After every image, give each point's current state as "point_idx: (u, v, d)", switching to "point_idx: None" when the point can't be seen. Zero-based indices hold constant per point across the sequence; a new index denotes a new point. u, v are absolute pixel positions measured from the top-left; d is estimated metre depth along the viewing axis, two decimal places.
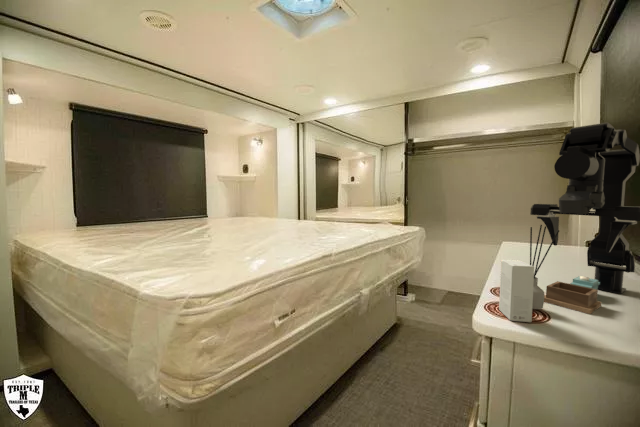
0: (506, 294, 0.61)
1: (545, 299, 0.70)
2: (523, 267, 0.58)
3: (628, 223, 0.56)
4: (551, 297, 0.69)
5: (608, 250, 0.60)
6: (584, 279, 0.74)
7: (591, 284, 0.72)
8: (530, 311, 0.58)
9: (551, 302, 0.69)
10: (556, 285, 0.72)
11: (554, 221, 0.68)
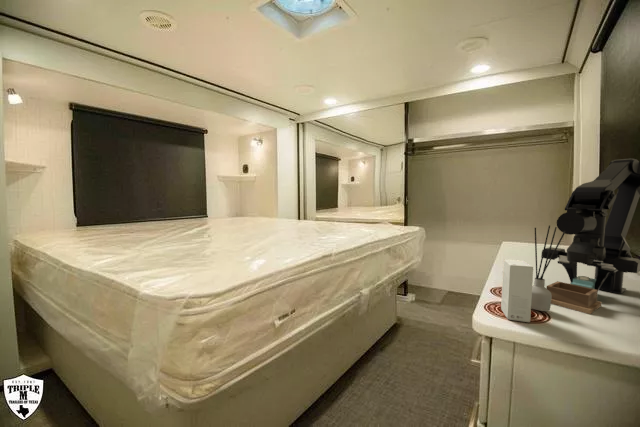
0: (505, 293, 0.61)
1: None
2: (521, 267, 0.58)
3: (611, 271, 0.69)
4: None
5: None
6: (584, 279, 0.74)
7: (591, 284, 0.72)
8: (528, 311, 0.58)
9: (551, 302, 0.69)
10: (556, 285, 0.72)
11: (573, 266, 0.77)
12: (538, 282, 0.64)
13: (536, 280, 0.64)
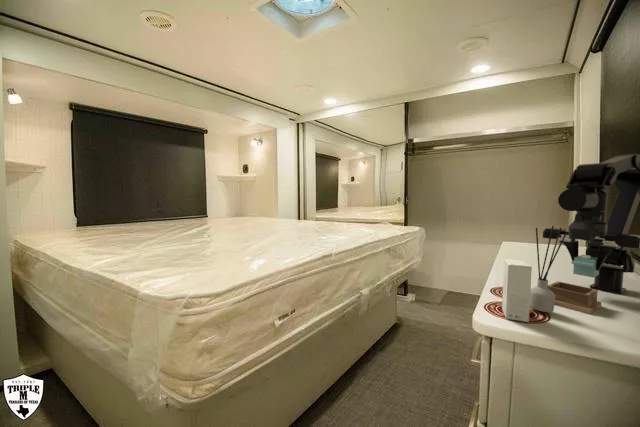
0: (505, 293, 0.61)
1: None
2: (519, 266, 0.58)
3: (613, 248, 0.68)
4: None
5: (597, 269, 0.72)
6: (586, 257, 0.73)
7: (593, 262, 0.72)
8: (527, 311, 0.58)
9: None
10: (556, 285, 0.72)
11: (575, 245, 0.76)
12: (541, 283, 0.63)
13: (539, 281, 0.64)
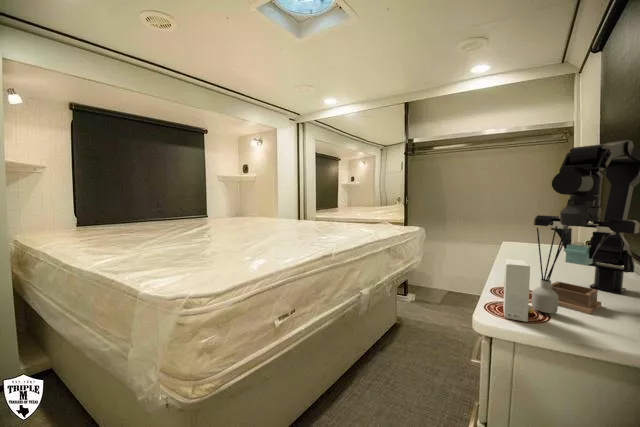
0: (504, 292, 0.62)
1: None
2: (518, 266, 0.59)
3: (607, 234, 0.65)
4: None
5: (590, 257, 0.69)
6: (579, 244, 0.69)
7: (586, 249, 0.68)
8: (526, 310, 0.58)
9: None
10: (556, 285, 0.72)
11: None
12: (543, 283, 0.63)
13: (542, 281, 0.63)
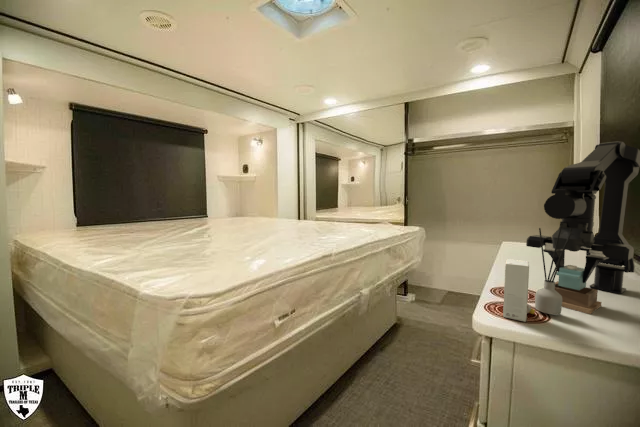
0: None
1: None
2: (517, 266, 0.59)
3: (600, 259, 0.63)
4: None
5: (584, 281, 0.67)
6: (571, 268, 0.67)
7: (579, 273, 0.66)
8: (524, 310, 0.58)
9: None
10: (556, 285, 0.72)
11: None
12: (547, 284, 0.62)
13: (545, 282, 0.63)
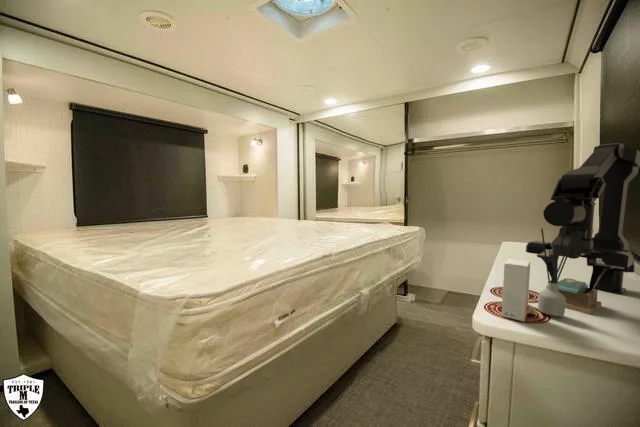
0: None
1: None
2: (515, 266, 0.59)
3: (607, 267, 0.62)
4: None
5: (590, 289, 0.66)
6: (570, 281, 0.68)
7: (578, 287, 0.66)
8: (522, 310, 0.58)
9: None
10: None
11: (553, 260, 0.72)
12: (550, 285, 0.61)
13: (548, 283, 0.62)
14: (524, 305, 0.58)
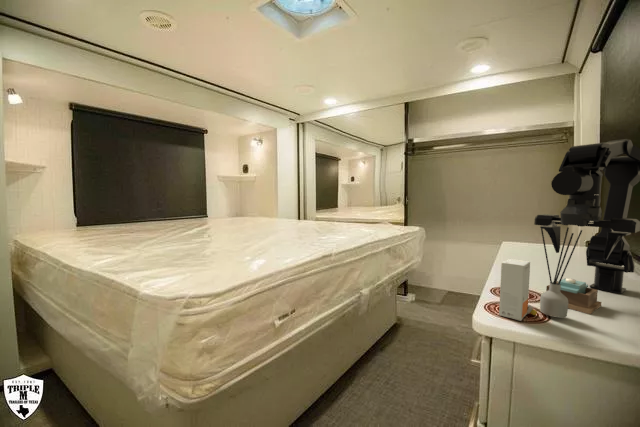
0: None
1: None
2: (512, 265, 0.59)
3: (623, 234, 0.63)
4: None
5: (605, 258, 0.67)
6: (570, 281, 0.68)
7: (578, 287, 0.66)
8: (519, 309, 0.59)
9: None
10: None
11: (556, 230, 0.74)
12: (551, 286, 0.61)
13: (550, 284, 0.61)
14: (521, 304, 0.59)
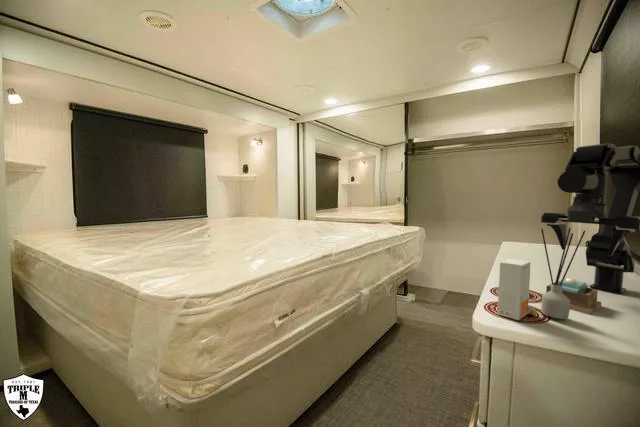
0: None
1: None
2: (510, 264, 0.60)
3: (627, 231, 0.65)
4: None
5: (610, 254, 0.69)
6: (570, 281, 0.68)
7: (578, 287, 0.66)
8: (517, 309, 0.59)
9: None
10: None
11: (562, 228, 0.77)
12: (552, 287, 0.60)
13: (551, 285, 0.61)
14: (519, 304, 0.59)
